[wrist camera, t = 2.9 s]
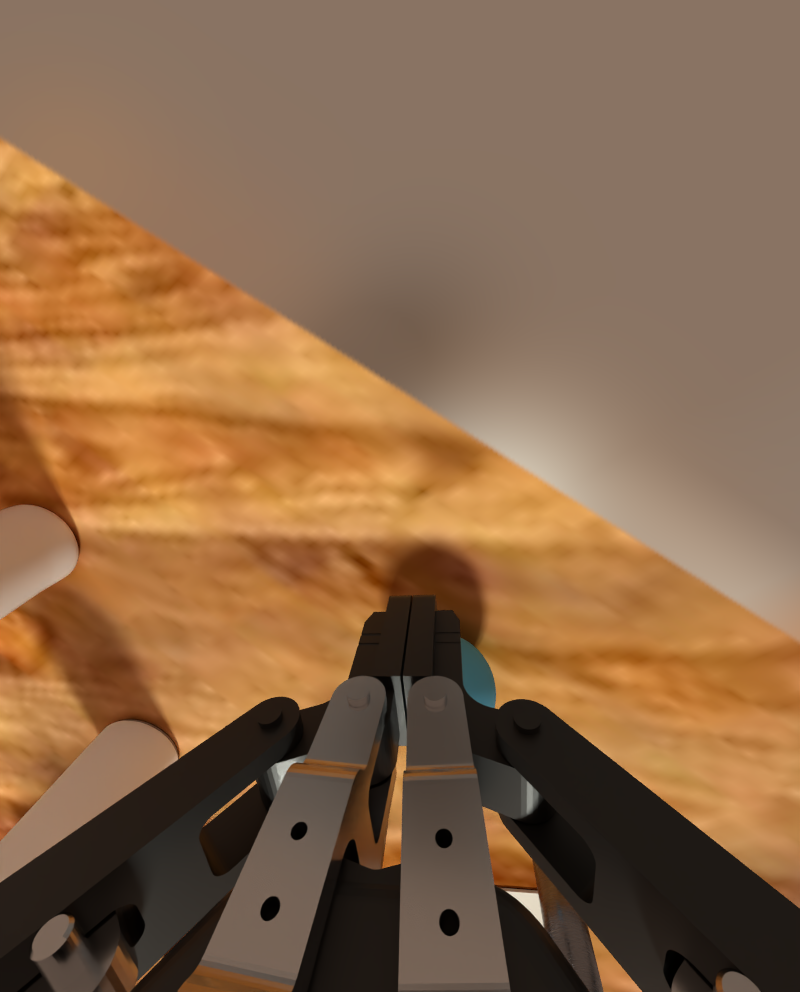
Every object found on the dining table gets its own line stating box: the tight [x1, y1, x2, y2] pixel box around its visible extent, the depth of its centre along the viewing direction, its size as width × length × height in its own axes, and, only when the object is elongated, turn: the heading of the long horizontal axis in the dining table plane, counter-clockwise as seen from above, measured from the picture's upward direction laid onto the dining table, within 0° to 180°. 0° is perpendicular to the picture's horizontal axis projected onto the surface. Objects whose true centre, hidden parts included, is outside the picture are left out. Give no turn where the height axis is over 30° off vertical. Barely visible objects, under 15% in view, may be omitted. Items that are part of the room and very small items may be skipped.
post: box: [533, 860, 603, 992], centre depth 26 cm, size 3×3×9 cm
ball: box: [461, 638, 496, 708], centre depth 23 cm, size 6×6×6 cm
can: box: [0, 719, 178, 882], centre depth 26 cm, size 6×6×12 cm
